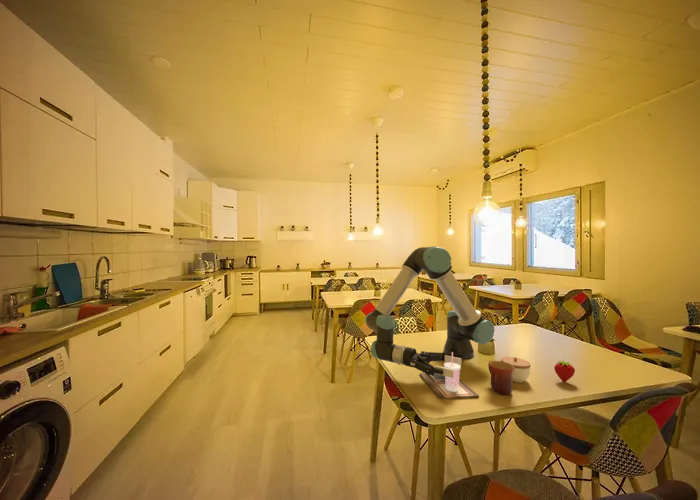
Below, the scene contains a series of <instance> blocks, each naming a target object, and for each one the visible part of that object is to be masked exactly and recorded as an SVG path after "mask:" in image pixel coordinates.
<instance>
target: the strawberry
mask: <svg viewBox="0 0 700 500" xmlns="http://www.w3.org/2000/svg"><path fill="white" fill-rule="evenodd" d="M564 360H566V358H564V359H563V360H562V361H561V360H558V361H557V362H556V364H554V367H553V369H554V371H555V374H556V375H557V377H558V378H559V379H560V381H561V382H563V383H566V382H568V381H569V380H570V379H572V377H573V376H574V375H575V372H576V370H575V369H576V368H575V367H574V366H573V365H572V363H570V362H569V361H568V362H565V361H564Z"/></svg>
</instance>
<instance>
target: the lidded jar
mask: <svg viewBox="0 0 700 500" xmlns="http://www.w3.org/2000/svg"><path fill="white" fill-rule="evenodd" d="M500 361H503V362H507V363H510V364H512V365H513V366H514V371H513V374H512V383H513V382H514V383H518V384H519V383H520V384H521V383H524V382H525V381H526V380H528V378H529V376H530V374H531V363H530V361H528V360H526V359H524V358H520V357H517V356H504V357H501V359H500Z"/></svg>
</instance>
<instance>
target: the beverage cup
mask: <svg viewBox="0 0 700 500" xmlns="http://www.w3.org/2000/svg"><path fill="white" fill-rule="evenodd" d="M443 367H444V368H448V369H453V378H451V377H447V376H445V383H446V389H447V390H449V391H452V392H456V391H458V389H459V378H460V373H461V372H460V371H461V369H462V368H461V367H462V365H461V366H460V365H459V364H456V363H453V352H452V362H447V363H446V362H444V363H443Z"/></svg>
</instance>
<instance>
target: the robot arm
mask: <svg viewBox="0 0 700 500" xmlns="http://www.w3.org/2000/svg"><path fill="white" fill-rule="evenodd" d="M451 261H452V257H451V254H450V253H449V251H448V250H447V249H446V248H444V247H440V246H426V247H425V246H421V247H418V248H416V249H414V250H413V251H412V252H411V253H410V254H409V256H408V257H407V258H406V259H405V261H404V262H403V264H402V265H401V268H402V269H400V271H399V272H398V274H397V276H396V277H395V278H394V280H393V282H392V284H391V285H390V286H389V287H388V289H387V291H386V292H385V293H384V295H383V296H382V298H381V299H380V301H379V302H378V303H377V305H376V307H375V308H374V309H373V311H372V312H370V313H368V314H367V315H366V316H365V318H364V321H365V322H364V323H365V325H366V326H367V327H368V328H369V329H370V330H372V332H374V333H376V340H374V341H372V342H371V346H370V354H371V356H372V357H373V358H374V359H378V360H380V361H386V362H390V363H394V364H397V365H398V366H400V365H402V366H403V365H404V366H405V367H409V368H414V369H416V370H418V371H420V372H421V373H426V374H428V375H431V376H434V373H435V374H439V375H443V376H447V377H451V378H453V369H448V368H445V367H444V366H440V365H432V363H431V362H444V363H447V362H452V352H453V363H456V364H459V365H460V366H461V367H462V365H463V364H462V361H463V360H462V359H471V358H473V357H475V351H474V348H473V345H472V342H471V341H473V342H474V343H476V344H480V345H486V344H488V343H489V342H491V341H492V339H493V338H494V336H495V326H494V324H493V322H492V321H490V320H489V319H485V317H484V315H483V314H482V313H481V311H480V310H479V309H475V307H474V306H473V305H472V303H471V301H470V299H469V297H468V295H466V293H465V292H464V290H463V288H462V287H461V285H460V284H459V282H458V280H457V278H456V277H455V275H454V274H453V273H452V269H453V266H452V262H451ZM423 272H425V273H426V275H427V277H428V278H429V279H430V280H432V281H435V283H436V284H437V286H438V287H439V289H440V290H441V292H442V294H443V295H444V297H445V298H446V301H448V303H449V305H450V306H451V308H452V309H453V310H448V311H447V314H446V330H447V331H446V333H447V334H446V336H447V337H446V340H445V343H444V346H443V352H435V351H434V352H433V351H423V350H421V352H419V353H418V352H417V349H416V348H414V347H409V346H406V345H399V344H396V343H395V344H394V328H395V327H394V326H395V323H394V317H393V316H392V315H390V314H391V313H392V312H393V310H394V309H395V307H396V306H397V304H398V303H399V302H400V299H401V298H402V297H403V295H404V294H405V293H406V291H407V290H408V288H409V286H410V285H411V284H412V282H413V281H414V279H415V278H417V277H419V275H420V274H421V273H423Z"/></svg>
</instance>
